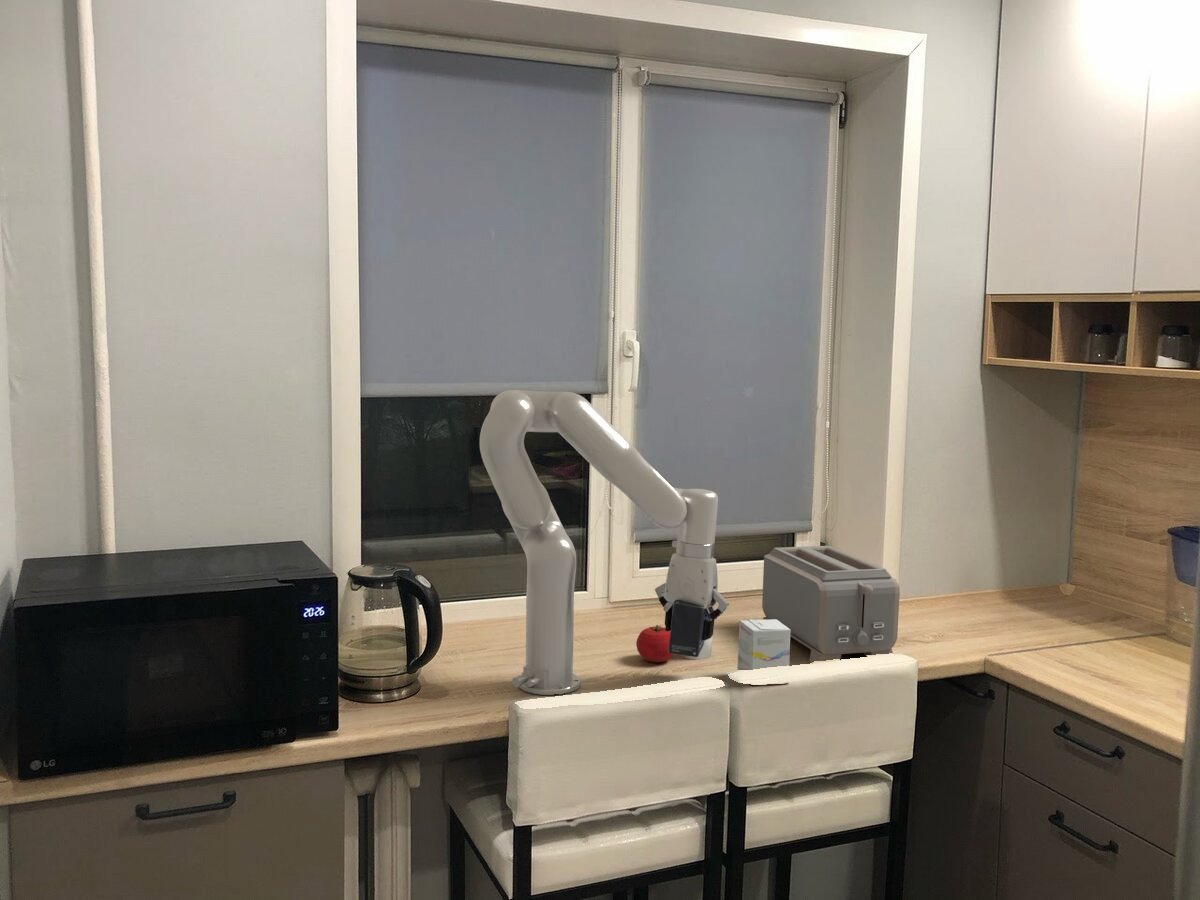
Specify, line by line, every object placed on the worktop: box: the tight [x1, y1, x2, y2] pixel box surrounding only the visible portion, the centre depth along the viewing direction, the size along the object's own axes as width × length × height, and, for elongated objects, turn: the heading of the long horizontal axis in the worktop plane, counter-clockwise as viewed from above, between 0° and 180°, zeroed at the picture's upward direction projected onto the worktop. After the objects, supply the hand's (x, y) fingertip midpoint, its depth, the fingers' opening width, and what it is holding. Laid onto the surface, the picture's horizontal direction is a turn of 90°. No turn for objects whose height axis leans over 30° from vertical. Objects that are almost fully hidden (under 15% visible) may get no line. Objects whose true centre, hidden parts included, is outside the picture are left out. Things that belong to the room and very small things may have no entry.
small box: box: [668, 600, 705, 657], centre depth 207 cm, size 11×6×10 cm, turn 167°
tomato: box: [635, 624, 674, 663], centre depth 221 cm, size 9×9×8 cm
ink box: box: [736, 619, 791, 670], centre depth 210 cm, size 9×9×12 cm
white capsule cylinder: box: [680, 636, 713, 661], centre depth 226 cm, size 7×7×8 cm
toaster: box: [761, 545, 901, 663], centre depth 234 cm, size 19×35×20 cm, turn 15°
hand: (688, 634), depth 207 cm, fingers closed on small box, 7 cm apart
